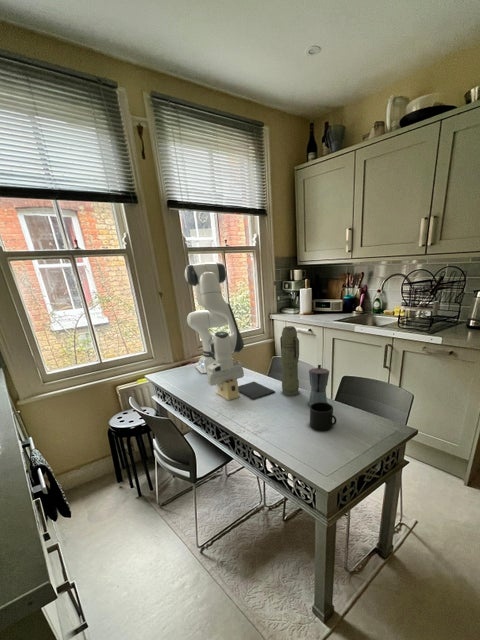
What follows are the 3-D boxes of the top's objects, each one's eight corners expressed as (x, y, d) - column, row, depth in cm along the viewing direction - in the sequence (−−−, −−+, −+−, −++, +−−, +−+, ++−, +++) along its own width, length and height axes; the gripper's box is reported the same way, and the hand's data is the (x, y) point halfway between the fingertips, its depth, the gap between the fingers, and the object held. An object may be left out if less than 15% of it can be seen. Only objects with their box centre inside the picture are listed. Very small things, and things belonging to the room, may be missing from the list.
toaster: (217, 393, 173) (215, 378, 169) (227, 390, 176) (226, 375, 172) (229, 401, 163) (228, 384, 159) (240, 397, 166) (238, 381, 163)
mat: (233, 389, 178) (233, 387, 178) (253, 382, 185) (253, 381, 185) (253, 399, 163) (253, 398, 163) (274, 392, 171) (274, 391, 170)
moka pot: (327, 398, 160) (328, 360, 152) (329, 412, 146) (331, 371, 138) (308, 398, 161) (308, 360, 153) (308, 412, 147) (309, 371, 139)
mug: (329, 436, 127) (330, 416, 123) (305, 427, 134) (305, 408, 131) (341, 426, 133) (342, 407, 129) (318, 418, 141) (318, 400, 137)
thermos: (287, 387, 176) (285, 324, 162) (304, 392, 169) (304, 326, 154) (276, 392, 170) (274, 327, 156) (294, 398, 163) (293, 330, 148)
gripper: (238, 358, 171) (240, 382, 176) (204, 367, 160) (207, 392, 165) (244, 361, 166) (246, 385, 172) (210, 370, 155) (213, 395, 161)
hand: (227, 388), depth 168 cm, fingers closed on toaster, 6 cm apart
